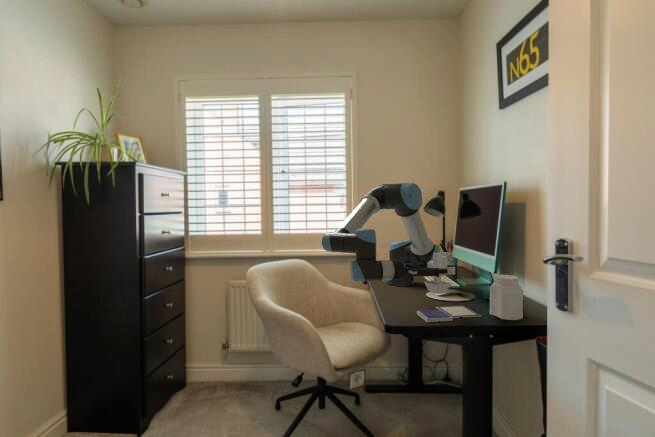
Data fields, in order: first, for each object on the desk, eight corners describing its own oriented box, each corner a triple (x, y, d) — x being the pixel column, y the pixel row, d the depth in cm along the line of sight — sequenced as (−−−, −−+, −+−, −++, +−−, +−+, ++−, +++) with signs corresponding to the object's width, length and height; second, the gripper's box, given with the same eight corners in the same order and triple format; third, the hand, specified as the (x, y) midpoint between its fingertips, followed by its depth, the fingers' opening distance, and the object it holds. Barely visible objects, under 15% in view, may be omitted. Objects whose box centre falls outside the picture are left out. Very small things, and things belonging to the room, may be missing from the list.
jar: (484, 312, 142) (485, 274, 141) (504, 309, 144) (504, 273, 144) (507, 321, 131) (507, 280, 130) (528, 318, 133) (528, 278, 133)
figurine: (436, 288, 142) (436, 250, 141) (453, 293, 133) (453, 253, 133) (421, 290, 139) (421, 251, 139) (437, 295, 131) (437, 255, 130)
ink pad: (416, 313, 141) (416, 310, 140) (441, 312, 142) (441, 308, 142) (426, 322, 131) (426, 318, 131) (452, 320, 132) (452, 316, 132)
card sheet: (436, 307, 149) (436, 306, 149) (463, 306, 150) (463, 305, 150) (451, 318, 135) (451, 316, 135) (481, 316, 136) (481, 315, 136)
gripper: (383, 274, 145) (436, 272, 147) (400, 286, 123) (462, 284, 126) (383, 255, 145) (436, 254, 147) (400, 265, 123) (462, 263, 125)
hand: (448, 268), depth 136 cm, fingers closed on figurine, 9 cm apart
